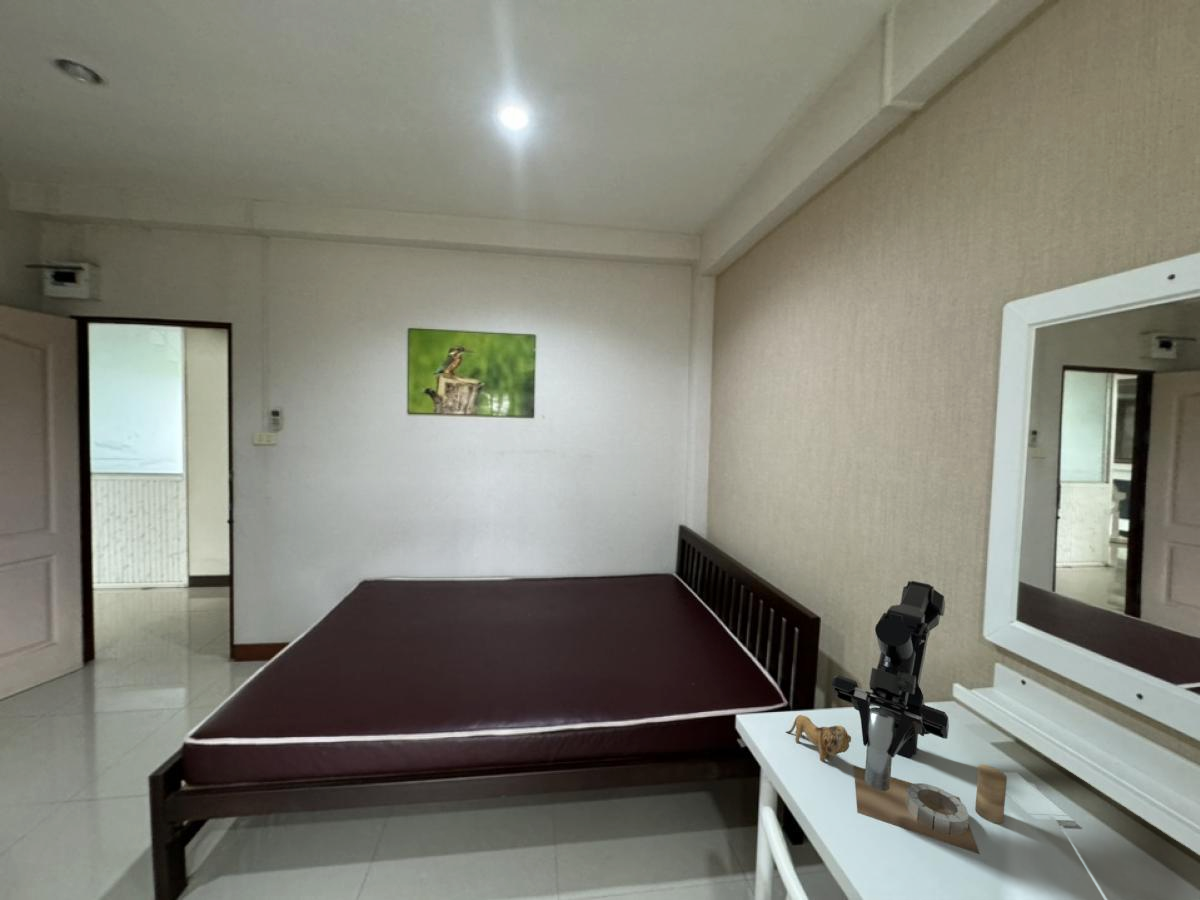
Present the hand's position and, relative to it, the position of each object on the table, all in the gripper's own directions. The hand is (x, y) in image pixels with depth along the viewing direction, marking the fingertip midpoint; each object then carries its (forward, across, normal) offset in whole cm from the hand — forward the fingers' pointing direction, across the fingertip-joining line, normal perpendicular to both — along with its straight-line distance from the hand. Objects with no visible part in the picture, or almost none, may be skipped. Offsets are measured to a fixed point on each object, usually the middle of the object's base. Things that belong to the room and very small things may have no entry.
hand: (878, 750), depth 87 cm
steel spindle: (+4, 0, +6) cm, 7 cm away
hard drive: (-10, +21, +29) cm, 37 cm away
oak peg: (-2, +16, +20) cm, 25 cm away
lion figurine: (+1, -13, +17) cm, 22 cm away
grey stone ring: (+3, +8, +14) cm, 17 cm away
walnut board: (+4, +4, +14) cm, 15 cm away
